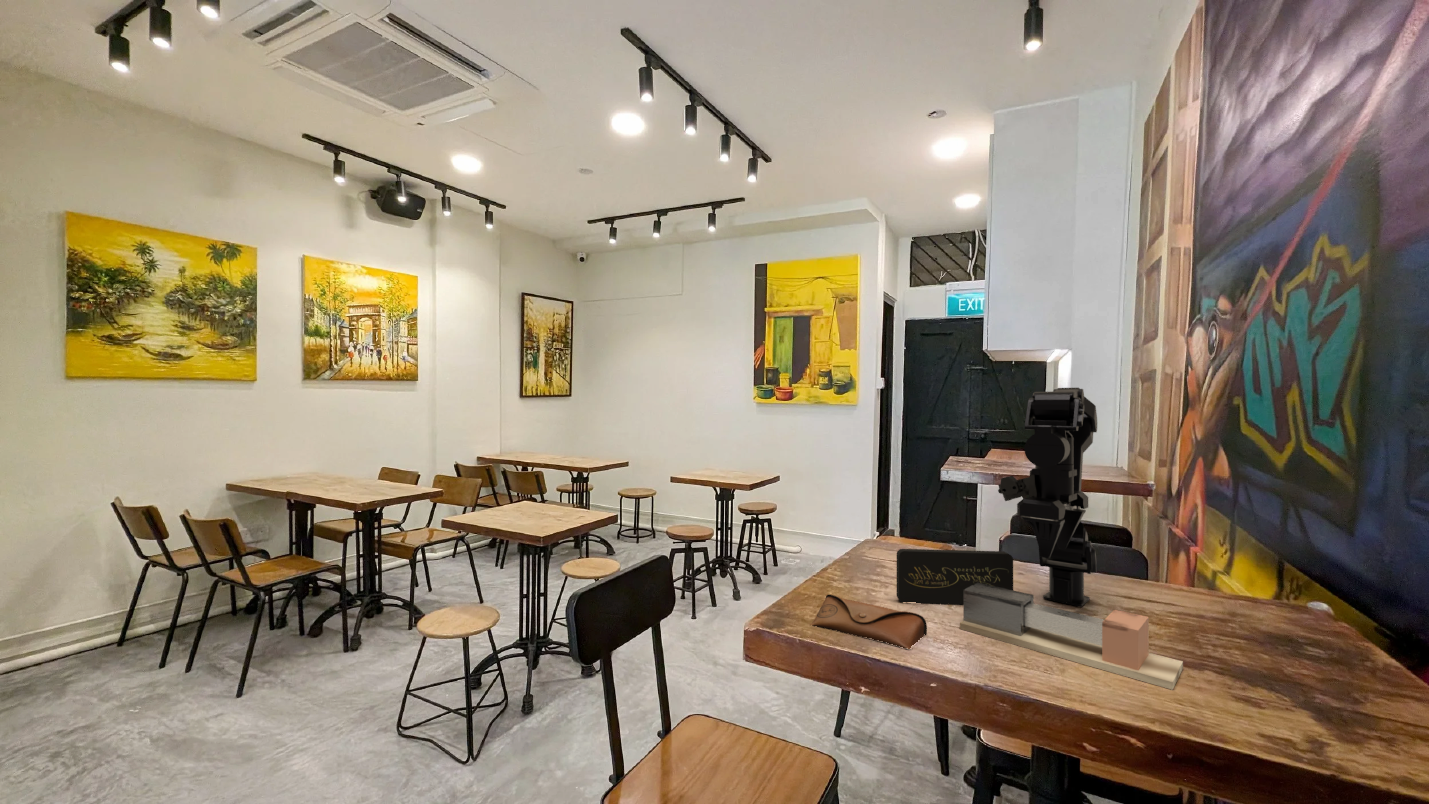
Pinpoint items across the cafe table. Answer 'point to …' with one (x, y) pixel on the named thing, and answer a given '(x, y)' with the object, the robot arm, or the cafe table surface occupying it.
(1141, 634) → the terracotta socket
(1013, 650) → the cafe table surface
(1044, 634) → the base board
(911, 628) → the sunglasses case
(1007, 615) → the grey sleeve
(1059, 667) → the cafe table surface
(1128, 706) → the cafe table surface
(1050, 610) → the silver rectangular bar
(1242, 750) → the cafe table surface
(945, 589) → the nameplate
